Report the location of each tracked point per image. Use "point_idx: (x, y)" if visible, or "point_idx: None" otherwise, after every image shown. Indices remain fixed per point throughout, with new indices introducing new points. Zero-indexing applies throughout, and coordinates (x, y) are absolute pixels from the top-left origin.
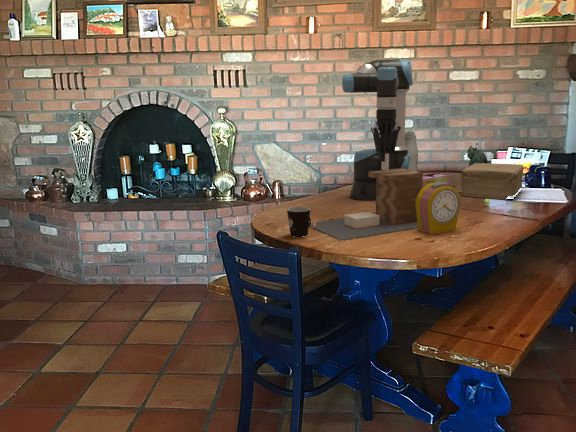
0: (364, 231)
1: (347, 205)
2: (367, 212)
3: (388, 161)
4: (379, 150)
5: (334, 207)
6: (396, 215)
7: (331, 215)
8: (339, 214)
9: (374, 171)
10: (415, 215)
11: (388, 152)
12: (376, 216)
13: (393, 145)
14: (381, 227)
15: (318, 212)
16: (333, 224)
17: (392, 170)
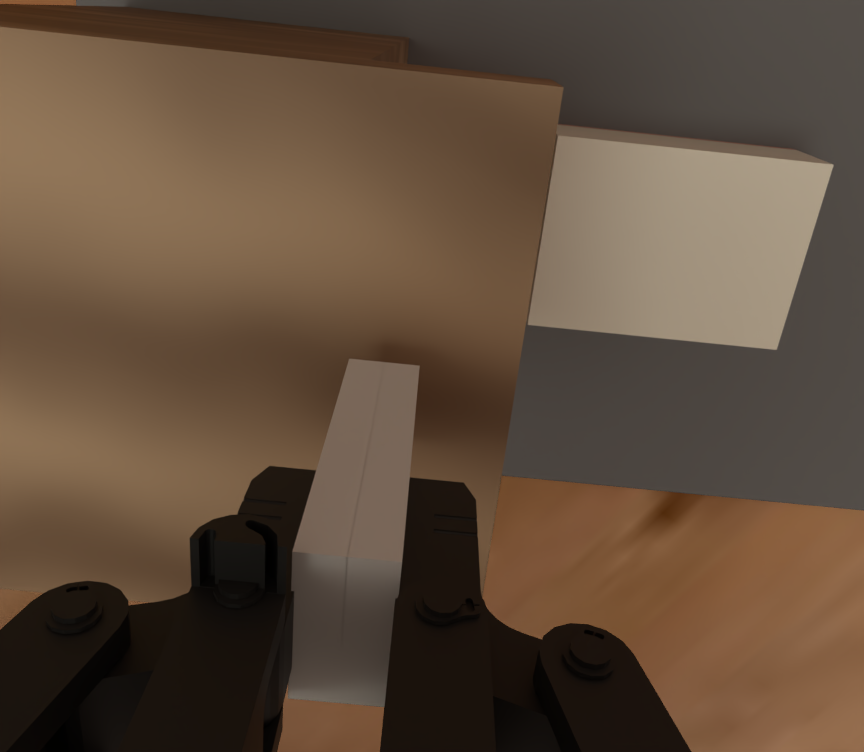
0: (805, 34)
1: (285, 730)
2: (552, 300)
3: (337, 437)
4: (642, 669)
5: None
6: (404, 49)
7: (575, 593)
8: (509, 585)
9: None
10: (171, 14)
11: (279, 595)
12: (593, 137)
13: (24, 723)
14: (583, 53)
15: None
16: (797, 374)
17: (109, 505)
